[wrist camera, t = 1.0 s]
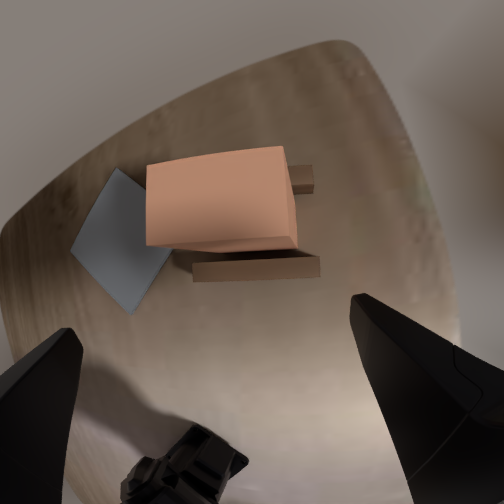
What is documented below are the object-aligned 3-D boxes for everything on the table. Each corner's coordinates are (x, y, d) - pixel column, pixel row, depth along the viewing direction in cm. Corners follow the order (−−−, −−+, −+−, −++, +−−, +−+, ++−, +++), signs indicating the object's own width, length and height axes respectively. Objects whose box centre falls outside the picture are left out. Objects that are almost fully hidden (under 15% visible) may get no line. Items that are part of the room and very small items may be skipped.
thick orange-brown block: (297, 248, 23) (289, 235, 11) (222, 253, 24) (146, 245, 12) (294, 203, 23) (282, 145, 11) (221, 209, 24) (147, 165, 12)
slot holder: (318, 275, 22) (320, 277, 19) (206, 279, 24) (193, 282, 21) (311, 176, 23) (312, 164, 20) (203, 186, 24) (190, 177, 21)
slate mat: (132, 314, 25) (130, 315, 25) (72, 251, 27) (70, 250, 26) (189, 223, 24) (188, 223, 24) (118, 168, 26) (116, 167, 26)
